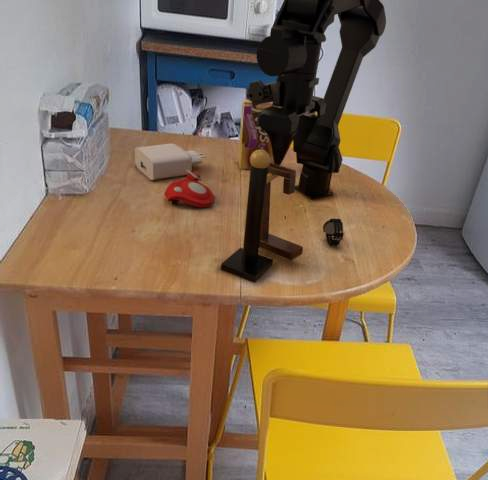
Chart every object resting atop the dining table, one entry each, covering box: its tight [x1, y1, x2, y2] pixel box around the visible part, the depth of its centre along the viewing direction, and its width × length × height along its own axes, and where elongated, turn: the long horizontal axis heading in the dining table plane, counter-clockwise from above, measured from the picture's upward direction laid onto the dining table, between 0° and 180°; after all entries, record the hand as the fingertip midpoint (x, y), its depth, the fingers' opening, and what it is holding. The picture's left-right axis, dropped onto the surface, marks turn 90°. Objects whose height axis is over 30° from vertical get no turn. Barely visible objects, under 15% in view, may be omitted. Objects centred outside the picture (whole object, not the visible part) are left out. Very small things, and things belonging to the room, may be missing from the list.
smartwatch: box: [322, 218, 345, 247], centre depth 92 cm, size 4×5×5 cm
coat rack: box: [220, 150, 279, 283], centre depth 79 cm, size 10×6×20 cm, turn 154°
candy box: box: [237, 99, 282, 170], centre depth 116 cm, size 9×4×15 cm, turn 99°
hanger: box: [259, 163, 304, 262], centre depth 82 cm, size 3×9×14 cm, turn 53°
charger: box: [134, 143, 207, 181], centre depth 112 cm, size 5×9×15 cm
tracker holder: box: [164, 170, 215, 208], centre depth 102 cm, size 12×4×10 cm
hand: (287, 158), depth 94 cm, fingers open, 9 cm apart
